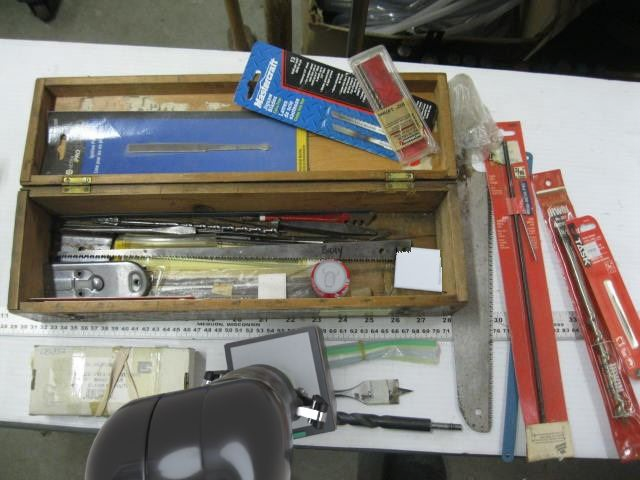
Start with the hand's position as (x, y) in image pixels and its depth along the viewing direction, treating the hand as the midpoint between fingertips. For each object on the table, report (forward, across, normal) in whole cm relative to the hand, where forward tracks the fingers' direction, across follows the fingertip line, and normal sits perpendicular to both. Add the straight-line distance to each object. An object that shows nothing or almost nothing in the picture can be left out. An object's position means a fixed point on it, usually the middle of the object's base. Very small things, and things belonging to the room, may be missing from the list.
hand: (275, 389), depth 57 cm
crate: (+30, 0, 0) cm, 30 cm away
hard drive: (+30, +20, +25) cm, 44 cm away
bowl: (+1, 0, 0) cm, 1 cm away
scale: (+5, 0, 0) cm, 5 cm away
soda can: (+30, +2, +18) cm, 35 cm away
